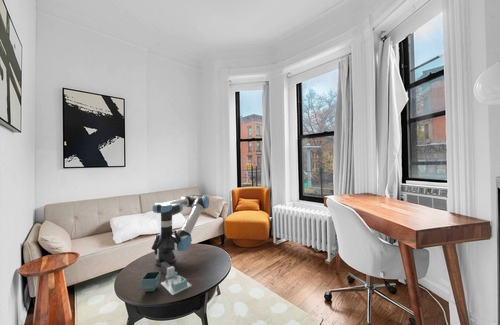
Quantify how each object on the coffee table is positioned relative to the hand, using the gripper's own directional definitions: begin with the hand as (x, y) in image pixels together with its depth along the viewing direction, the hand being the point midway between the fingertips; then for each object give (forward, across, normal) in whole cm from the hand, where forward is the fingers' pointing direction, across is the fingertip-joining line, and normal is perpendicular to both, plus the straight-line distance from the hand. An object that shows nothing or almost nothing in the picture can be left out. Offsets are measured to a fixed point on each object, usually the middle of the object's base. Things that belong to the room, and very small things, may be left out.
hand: (166, 255), depth 149 cm
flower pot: (+14, -15, -11) cm, 23 cm away
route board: (+13, -2, -17) cm, 22 cm away
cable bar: (+13, 0, 0) cm, 13 cm away
